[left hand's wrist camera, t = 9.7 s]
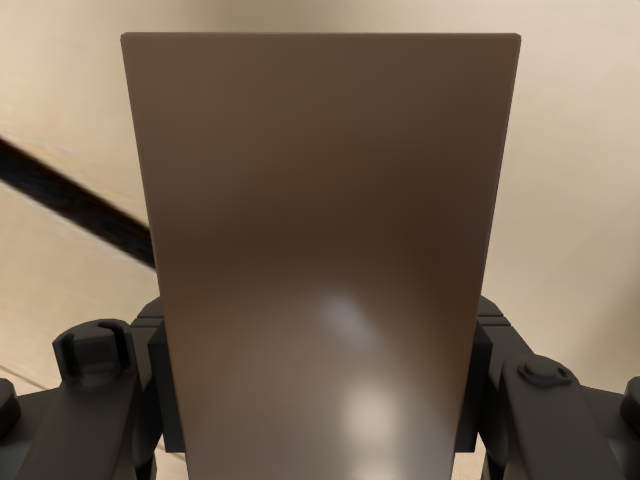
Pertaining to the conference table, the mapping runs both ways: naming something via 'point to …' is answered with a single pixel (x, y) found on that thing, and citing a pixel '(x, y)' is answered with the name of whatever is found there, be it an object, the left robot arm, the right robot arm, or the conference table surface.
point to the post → (320, 240)
